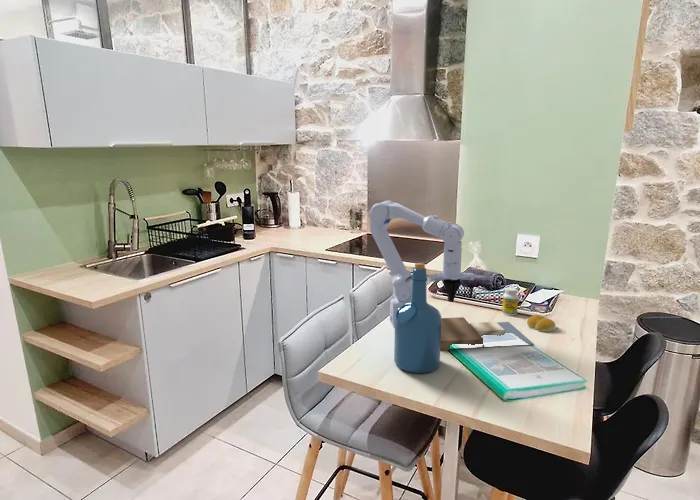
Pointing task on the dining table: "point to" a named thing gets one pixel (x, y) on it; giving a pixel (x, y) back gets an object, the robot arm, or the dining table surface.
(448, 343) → the board
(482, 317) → the dining table surface
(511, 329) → the mat
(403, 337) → the wine bottle
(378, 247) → the robot arm
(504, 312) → the supplement bottle
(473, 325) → the tile
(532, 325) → the bread roll
